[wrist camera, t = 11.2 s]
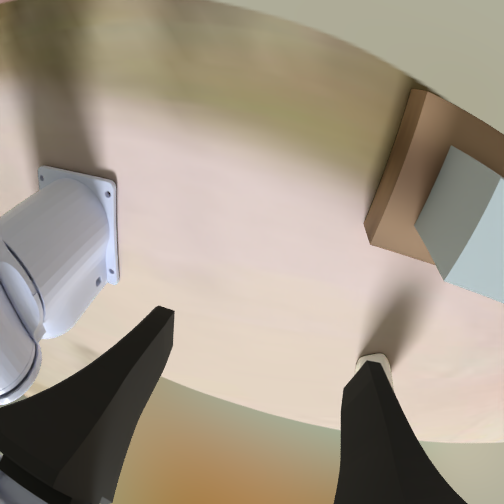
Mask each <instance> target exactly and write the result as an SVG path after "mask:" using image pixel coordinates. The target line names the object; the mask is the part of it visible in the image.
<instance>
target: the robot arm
mask: <svg viewBox="0 0 504 504" xmlns="http://www.w3.org/2000/svg"><path fill="white" fill-rule="evenodd" d="M43 177H44V178H43ZM38 179H39V191H38V192H36V193H34V194H33V195H31V196H30V197H28V198H27V199H25V200H24V201H22V202H21V203H19V204H18V205H16V206H15V207H14V208H12V209H11V210H9V211H8V212H6V213H5V214H4V215H2V216H1V217H0V405H4V404H7V403H10V402H12V401H14V400H16V399H18V398H19V397H20V396H22V395H23V394H24V393H25V392H26V391H27V390H28V389H29V388H30V386H31V385H32V384H33V382H34V381H35V379H36V377H37V375H38V373H39V370H40V366H41V361H42V352H41V348H40V345H39V343H38V342H39V341H40V340H41V339H51V338H55V337H58V336H60V335H62V334H64V333H66V332H67V331H69V330H70V329H71V328H72V327H73V326H74V325H75V324H76V322H77V321H78V320H79V318H80V317H81V316H82V314H83V313H84V312H85V310H86V309H87V308H88V306H89V305H90V304H91V303H92V301H93V300H94V299H95V297H96V296H97V295H98V293H99V292H100V291H101V290H102V288H103V287H104V286H105V285H106V283H107V282H108V283H110V284H113V285H116V284H117V283H118V282H119V270H118V254H117V232H116V185H115V183H114V182H113V181H112V180H109V179H105V178H100V177H96V176H91V175H87V174H82V173H78V172H73V171H68V170H64V169H59V168H54V167H49V166H44V165H43V166H41V167H39V168H38ZM108 191H109V192H110V194H111V196H110V195H109V194H108ZM174 312H175V311H173V310H170V309H167V308H164V307H161V306H157V307H155V308H154V309H153V310H152V311H151V312H150V313H149V314H148V315H147V316H146V317H145V318H144V319H143V320H142V321H141V322H140V323H139V324H138V325H137V326H136V327H135V328H134V329H133V330H132V331H130V332H129V333H128V334H127V335H126V336H125V337H123V338H122V339H121V340H120V341H119V342H118V343H117V344H115V345H114V346H113V347H112V348H110V349H109V350H108V351H106V352H105V353H104V354H103V355H101V356H100V357H99V358H97V359H96V360H95V361H93V362H92V363H90V364H89V365H88V366H86V367H85V368H83V369H82V370H80V371H78V372H77V373H75V374H74V375H72V376H70V377H69V378H67V379H65V380H63V381H62V382H60V383H58V384H56V385H54V386H53V387H51V388H49V389H46V390H44V391H42V392H40V393H38V394H36V395H33V396H31V397H29V398H27V399H24V400H21V401H18V402H16V403H13V404H10V405H7V406H4V407H1V408H0V452H2V453H3V456H2V455H0V504H99V503H100V504H110V503H112V502H113V498H114V494H115V490H116V486H117V483H118V479H119V476H120V472H121V469H122V466H123V462H124V459H125V456H126V453H127V450H128V447H129V444H130V441H131V438H132V436H133V433H134V430H135V427H136V425H137V422H138V420H139V418H140V415H141V413H142V411H143V409H144V407H145V405H146V403H147V401H148V400H149V398H150V396H151V394H152V392H153V390H154V388H155V386H156V384H157V382H158V380H159V378H160V376H161V374H162V372H163V370H164V368H165V365H166V363H167V360H168V357H169V355H170V352H171V349H172V346H173V331H174ZM334 504H467V503H466V502H465V501H464V500H463V499H462V498H461V497H460V496H459V495H458V494H457V493H456V492H455V491H454V490H453V489H452V488H451V487H450V486H449V484H448V483H447V482H446V481H445V479H444V478H443V477H442V476H441V475H440V474H439V472H438V470H437V469H436V468H435V466H434V465H433V464H432V462H431V461H430V459H429V458H428V456H427V455H426V453H425V451H424V450H423V448H422V447H421V445H420V443H419V441H418V440H417V438H416V436H415V434H414V432H413V430H412V429H411V427H410V425H409V423H408V421H407V419H406V417H405V415H404V413H403V411H402V408H401V406H400V404H399V402H398V400H397V398H396V396H395V393H394V391H393V389H392V387H391V384H390V382H389V380H388V378H387V376H386V373H385V371H384V369H383V367H382V365H381V363H379V362H374V361H368V360H366V362H365V363H364V364H363V365H362V367H361V368H360V369H359V370H358V372H357V373H356V374H355V375H354V377H353V378H352V379H351V380H350V381H349V383H348V384H347V385H346V386H345V387H344V390H343V398H342V406H341V461H340V472H339V478H338V485H337V490H336V495H335V500H334Z"/></svg>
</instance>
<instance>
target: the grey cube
mask: <svg viewBox="0 0 504 504" xmlns="http://www.w3.org/2000/svg"><path fill="white" fill-rule="evenodd" d="M414 227H415V228H416V230H417V232H418V233H419V235H420V237H421V239H422V240H423V242H424V244H425V246H426V248H427V249H428V251H429V253H430V255H431V257H432V259H433V261H434V263H435V264H436V266H437V268H438V270H439V272H440V274H441V276H442V278H443V280H444V281H445V282H448V283H451V284H454V285H456V286H459V287H462V288H464V289H467V290H470V291H472V292H475V293H478V294H480V295H483V296H486V297H488V298H491V299H494V300H496V301H499V302H501V303H504V178H503V177H502V176H500V175H499V174H497V173H496V172H494V171H493V170H491V169H490V168H488V167H487V166H485V165H484V164H482V163H480V162H479V161H477V160H476V159H474V158H472V157H471V156H469V155H467V154H466V153H464V152H462V151H461V150H459V149H457V148H455V147H454V146H452V145H451V146H450V149H449V151H448V154H447V156H446V159H445V161H444V163H443V166H442V168H441V170H440V173H439V175H438V177H437V179H436V181H435V184H434V186H433V188H432V190H431V192H430V194H429V197H428V199H427V201H426V203H425V205H424V207H423V209H422V211H421V213H420V215H419V217H418V219H417V221H416V223H415V225H414Z"/></svg>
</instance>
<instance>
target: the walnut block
mask: <svg viewBox="0 0 504 504" xmlns="http://www.w3.org/2000/svg"><path fill="white" fill-rule="evenodd" d="M451 145H452V146H454V147H455V148H457V149H459V150H461V151H462V152H464V153H466V154H467V155H469V156H471V157H472V158H474V159H476V160H477V161H479V162H480V163H482V164H484V165H485V166H487V167H488V168H490V169H491V170H493V171H494V172H496V173H497V174H499V175H500V176H502V177H503V178H504V135H503V134H502V133H500V132H499V131H497V130H496V129H494V128H493V127H491V126H489V125H488V124H486V123H485V122H483V121H482V120H480V119H478V118H477V117H475V116H473V115H472V114H470V113H468V112H466V111H465V110H463V109H461V108H459V107H457V106H456V105H454V104H452V103H450V102H448V101H446V100H444V99H442V98H440V97H438V96H436V95H434V94H432V93H430V92H428V91H424V90H418V89H411V92H410V95H409V99H408V102H407V105H406V109H405V112H404V115H403V118H402V121H401V124H400V128H399V131H398V134H397V137H396V140H395V142H394V145H393V148H392V151H391V154H390V157H389V160H388V162H387V165H386V168H385V171H384V173H383V176H382V179H381V181H380V184H379V187H378V189H377V192H376V194H375V197H374V199H373V202H372V204H371V207H370V209H369V212H368V214H367V217H366V219H365V222H364V227H365V230H366V233H367V236H368V239H369V243H370V245H373V246H376V247H380V248H383V249H386V250H389V251H393V252H396V253H399V254H402V255H405V256H409V257H412V258H415V259H418V260H421V261H424V262H427V263H430V264H433V265H436V264H435V263H434V261H433V259H432V257H431V255H430V253H429V251H428V249H427V248H426V246H425V244H424V242H423V240H422V239H421V237H420V235H419V233H418V232H417V230H416V228H415V227H414V225H415V223H416V221H417V219H418V217H419V215H420V213H421V211H422V209H423V207H424V205H425V203H426V201H427V199H428V197H429V194H430V192H431V190H432V188H433V186H434V184H435V181H436V179H437V177H438V175H439V173H440V170H441V168H442V166H443V163H444V161H445V159H446V156H447V154H448V151H449V149H450V146H451Z"/></svg>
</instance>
